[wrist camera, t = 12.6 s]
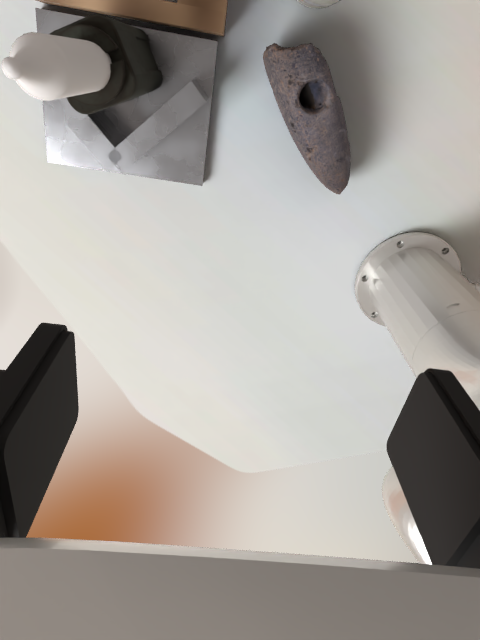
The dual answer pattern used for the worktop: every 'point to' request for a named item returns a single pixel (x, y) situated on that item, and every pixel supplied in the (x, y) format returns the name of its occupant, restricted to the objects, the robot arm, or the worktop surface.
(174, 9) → the wooden rectangular frame
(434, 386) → the robot arm
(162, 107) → the v block
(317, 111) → the perforated stone tool
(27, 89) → the candle
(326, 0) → the spray can
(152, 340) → the worktop surface
